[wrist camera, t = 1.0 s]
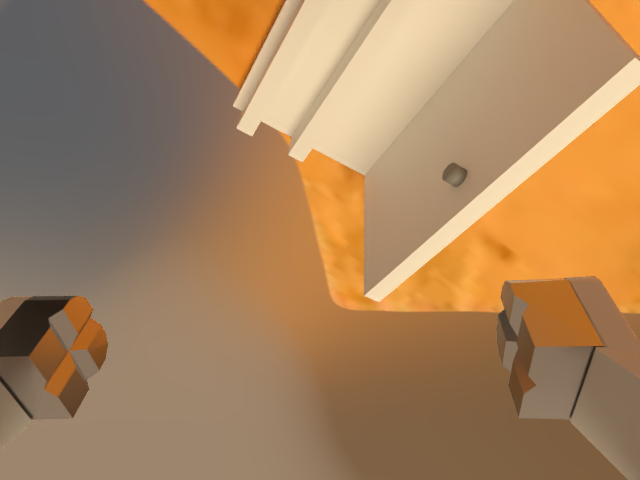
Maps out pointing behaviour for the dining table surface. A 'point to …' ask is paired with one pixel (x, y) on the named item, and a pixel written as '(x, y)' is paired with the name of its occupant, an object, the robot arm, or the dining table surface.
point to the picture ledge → (434, 105)
